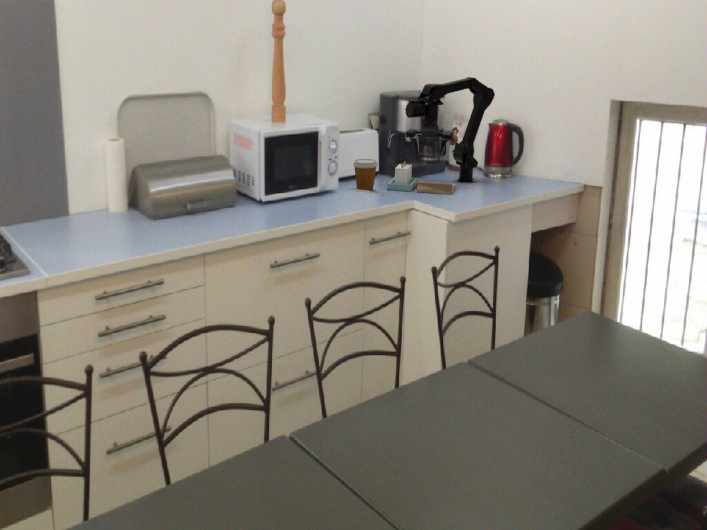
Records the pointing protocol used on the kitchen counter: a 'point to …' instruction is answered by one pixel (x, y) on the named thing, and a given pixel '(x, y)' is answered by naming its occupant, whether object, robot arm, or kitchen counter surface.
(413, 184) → the tray
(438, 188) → the bay
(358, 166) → the disposable coffee cup
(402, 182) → the white handled drawer
